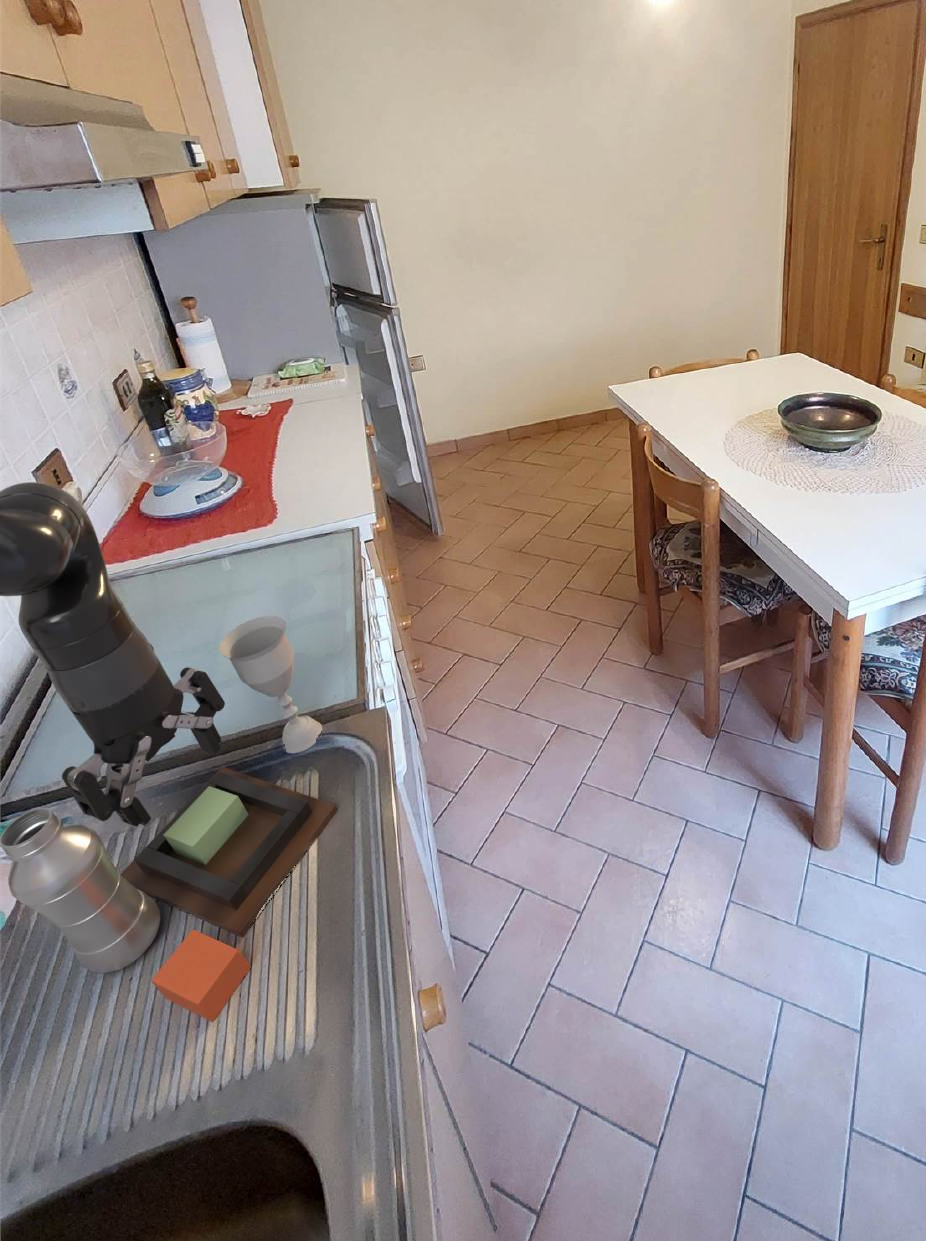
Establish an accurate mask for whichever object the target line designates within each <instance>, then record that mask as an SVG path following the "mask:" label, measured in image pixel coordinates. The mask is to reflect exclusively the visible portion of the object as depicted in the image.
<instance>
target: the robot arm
mask: <svg viewBox="0 0 926 1241" xmlns="http://www.w3.org/2000/svg"><path fill="white" fill-rule="evenodd" d="M101 548H102V547H101V545H100V541H99V539H98V536H97V533H96V530H95V526H94V524H93V523H92V520H91V518H90V516H89V515H88V512H87V511H86V510H85V508H84V507H83V505H82V504H81V503H80V502H79V501H78V500H77V499H76V498H75V497H74V496H73V495H71V494H70V493H69V492H68V491H65V490H64V489H62V488H60V487H58V486H56V485H52V484H49V483H46V482H37V481H28V482H21V483H15V484H12V485H10V486H7V487H5V488H3V489H1V490H0V597H20V606H19V612H18V618H17V619H18V625H19V628H20V631H21V633H22V635H23V636H24V639H25V640H26V641H27V643H28V644H29V646H30V648H31V649H32V650H33V652H34V654H35V655H36V656H37V657H38V659H39V660H40V662H41V663H42V665H43V666H44V668H45V669H46V671H47V673H48V677H49V679H50V681H51V683H52V686H53V688H54V689H55V690H56V692H57V693H58V694H59V696H60V698H61V699H62V700H63V702H64V704H65V705H66V706H67V707H68V709H69V711H70V712H71V714H72V715H73V716H74V717H75V719H76V720H77V722H78V723H79V725H80V726H81V728H82V729H83V731H85V734H86V735H87V737H88V738H89V739H90V740H91V742H92V743H93V754H92V755H91V756H90V757H89V758H87V759H86V760H85V761H84V762H82V763H81V764H80V765H78V767H77V766H74V765H71V766H69V767H67V768H65V769H64V770H63V772H62V774H61V779H62V780H63V782H64V784H65V786H66V787H67V789H68V790H69V792H70V794H71V795H72V797H73V798H74V800H75V802H76V803H77V805H78V806H79V808H80V811H81V812H82V814H83V815H86V816H91V817H92V818H96V819H97V820H98V821H101V822H106V821H108V820H109V819H110V818H111V817H112V815H113V814H114V812H116V814H117V815H118V817H119V818H120V820H121V821H122V822H123V823H126V824H128V825H131V826H133V827H136V828H137V827H138V826H139V825H141V826H144V827H145V826H147V824H148V823H150V821H151V820H152V817H151V815H150V814H149V812H148V811H147V809H146V808H145V807H144V804H142V802H141V800H139V798H138V797H137V796H135V793H136V789H137V784H138V782H139V781H141V780H142V778H143V774H144V769H145V765H146V762H150V761H151V759H153V758H155V756H156V755H157V753H158V752H159V751H160V750H161V748H162V747H164V746H165V745H168V744H169V743H170V742H171V741H172V740H173V739H174V738H175V737H176V733H177V731H178V729H185V730H186V729H187V730H190V732H191V733H192V734H193V736H194V738H195V740H196V742H197V743H198V745H199V747H200V748H201V749H202V750H203V751H204V752H206V753H209V754H213V755H216V754H217V753H218V752H219V751H220V750H221V746H220V744H221V742H222V737H221V735H220V733H219V732H218V729H217V728H216V726H215V724H214V722H215V721H214V720H215V719H214V717H215V715H216V714H217V712H221V711H223V709H224V708H225V705H226V701H225V700H224V698H223V696H222V695H221V694H220V692H219V690H218V689H217V688H216V686H215V685H214V683H213V681H212V680H211V678H210V677H209V675H208V674H207V672H206V671H203V670H199V669H196V668H192V667H189V666H186V667H184V668H182V670H181V671H180V673H179V677H180V679H179V680H178V681H177V682H176V683H174V684H173V682H172V681H171V679H170V677H169V675H168V674H167V672H166V670H165V669H164V666H163V665H162V662H161V661H160V660H159V658H158V656H157V655H156V653H155V649H154V646H153V645H152V643H150V642H149V640H148V639H147V637H146V635H144V634H143V632H142V631H141V630H140V628H139V627H138V626H137V625H136V624H135V622H134V621H133V619H132V617H131V615H130V613H129V611H127V609H126V607H125V605H124V603H123V601H122V600H121V598H120V597H119V595H118V593H117V592H116V591H115V589H114V588H113V585H112V583H111V580H110V577H109V574H108V568H107V565H106V564H107V563H106V561H105V557H104V555H103V554H104V553H103V551H102V549H101ZM185 693H188V694H191V696H193V698H194V699H195V701H196V702H197V704H198V705H199V706H198V708H197V709H196V711H186V710H185V711H184V710H182V709H183V704H184V699H185V698H184V697H185V696H184V694H185ZM105 764H106V769H105V773H104V774H105V778H106V779H107V781H106V786H105V791H104V790H103V788H102V787H101V786H100V784H99V783H100V782H101V781H102V779H103V777H102V773H101V769H102V767H103V765H105ZM125 765H128V768H127V767H126V766H125Z"/></svg>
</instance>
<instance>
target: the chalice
mask: <svg viewBox="0 0 926 1241" xmlns="http://www.w3.org/2000/svg"><path fill="white" fill-rule="evenodd" d="M286 628H287V625H286V621H285V619H283V618H282V617H279V616H277V615H265V616H264V615H263V616H259V617H256V618H253V619H250V620H247V621H245V622H243V623H241V624H239V625H237V626H235V627H234V628H233V629H232V630H230V631H229V632H228V633H227V634H226V635H225V636H224V637H223V638H222V640H221V642H220V644H219V653H220V654H221V656H223V657H224V658H227V659H229V661H230V662H231V664H232V666H233V668H234V670H235V672H236V673H237V675H238V678H239V680H241V682H242V683H243V684H244V685H246V686H248V687H249V688H250V689H252V690H254V691H256V692H258V693H261V694H262V695H265V696H267V697H270V698H276V697H277V699H278V702H277V705H278V707H282V708H283V711H282V714H281V715H282V717H284V718H287V719H288V720H289V721H288V722H287V723H286V724H285V725H284V728H283V730H282V736H281V739H282V741H283V744H285V748H286V753H288V754H297V753H302V752H304V751H306V750H308V749H309V748H311V747H312V746H314V745H315V744H316V743H317V742H316V738H317V737H318V735H319V734H320V733H321V731H322V732H323V725H322V724H321V723H320V722H319V721H317V720H315V719H314V718H312V717H311V716H309V715H297V711H298V706H296V705H292V701H293V697H292V696H289V695H288V694H287V693H286V692H288V690H289V689H290V688H291V686H292V680H293V677H294V676H293V675H294V672H295V652H294V650H293V648H292V646H291V643H290V641H289V639H288V637H287V635H286ZM282 741H281V742H282Z"/></svg>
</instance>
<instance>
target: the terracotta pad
mask: <svg viewBox="0 0 926 1241" xmlns="http://www.w3.org/2000/svg"><path fill="white" fill-rule="evenodd" d="M182 940H183V941H181V943H180V944H179V945H178V947H177V948H176V949H175V950H174V952H173V953H172V954H171V955H170V956H169V957H168V958H167V960H166V962H165V963H164V964H163V965H162V966H161V968H160V969H159V970H158V971H157V973H156V974H155V975H154V976H153V977H152V979H151V981H150V982H151V983H152V984H153V986H154V987H155V988H156V989H157V990H158V991H159V992H160V993H161V994H162V995H163V997H164V998H165V999H167V1001H170V1002H172V1003H174V1004H176V1005H178V1006H179V1007H182V1008H184V1009H185V1010H188V1011H190V1012H192V1013H194V1014H195V1015H198V1016H199V1017H200V1018H204V1019H205V1020H207V1021H209V1022H210V1023H211V1022H212V1023H213V1022H214V1021H215V1020H216V1018H217V1017H218V1016H219V1014H220V1013H221V1012H222V1010H223V1008H224V1007H225V1006H226V1004H227V1003H228V1001H229V1000H230V999H231V997H232V996H233V994H234V993H235V992H236V990H237V989H238V988H239V986H240V985H241V983H242V982H243V980H244V979H243V977H244V976H245V975H246V974H247V975H248V973H249V972H250V971H251V969H252V967H251V966H250V964H249V963H248V961H247V960H246V959H245V957H244V956H243V955H242V953H241V952H240V951H239V949H237V948H235V947H233V946H230V945H229V944H227V943H224V942H222V941H220V940H217V939H215V938H214V937H211V936H209V935H207V934H205V933H202V932H200V931H197V930H195V929H191V931H190V932H189V933H188V934H187V935H186V937H185V938H184V939H182ZM250 968H251V969H250ZM248 971H249V972H248ZM247 975H246V976H247ZM246 976H245V977H246ZM245 977H244V978H245ZM242 979H243V980H242ZM241 981H242V982H241ZM240 982H241V983H240ZM234 991H235V992H234Z"/></svg>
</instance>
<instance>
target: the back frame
mask: <svg viewBox="0 0 926 1241" xmlns="http://www.w3.org/2000/svg"><path fill="white" fill-rule="evenodd" d="M209 786H210V787H213V788H216V789H219V790H222V791H225V792H227V793H230V794H233V795H236V796H238V797H239V799H240V801H241V802H242V804H243V806H244V807H245V809H246V811H247V812H248V814H249V815H248V816H247V817H246V818H245V819H244V821H243V822H242V823H241V824H240V825H239V827H238V828H237V829H236V830H235V831H234V832H233V834H232V835H231V836H230V837H229V838H228V839H227V841H226V842H225V843H224V844H223V845H222V846H221V848H220V849H219V850H218V851H217V852H216V854H215V855H214V856H213V857H212V858H211V859H210V861H209V862H208V863H207V864H206V865H204V864H202V863H199V862H197V861H194V860H192V859H189V858H187V857H184V856H182V855H179V854H177V853H176V852H175V851H174V849H173V848H172V847H171V845H170V844H169V842H168V841H167V840H166V838H165V837H164V834H165V833H166V832H167V830H168V829H169V828H170V827H171V826H172V825H173V824H174V823H175V822H176V821H177V820H178V819H179V818H180V817H181V816H182V814H183V813H184V812H185V811H186V810H187V809H188V808H189V807H190V806H191V805H192V804H193V803H194V802H195V801H196V800H197V798H198V797H199V796H200V795H201V794H202V793H203V792H204V791H205V790H206V789H207V788H208V787H209ZM337 812H338V807H337V805H336V804H335V803H331V802H328V801H325V800H323V799H320V798H316V797H312V796H310V795H308V794H304V793H301V792H298V791H295V790H293V789H289V788H287V787H283V786H281V785H279V784H278V785H277V784H274V783H271V782H269V781H266V780H263V779H260V778H256V777H254V776H251V775H248V774H245V773H242V772H239V771H236V770H233V769H229V768H227V767H223V766H221V767H220V768H219V770H217V771H215V773H214V774H213V775H212V776H211V777H210V778H209V780H207V782H206V783H205V784H204V785H203V786H202V787H201V788H200V789H199V790H198V791H197V792H196V793H195V795H193V796H192V798H191V799H190V800H189V801H188V802H187V803H186V804H185V805H184V806H183V807H182V808H181V809H180V810H179V811H178V813H176V814H175V815H174V816H173V818H172V819H171V820H169V821H168V823H167V824H165V826H164V827H163V828H162V829H161V830H160V831H159V832H158V833H157V835H155V836H154V837H153V839H152V840H151V841H149V843H148V844H147V845H146V846H145V847H144V848H143V849H142V850H141V851H140V852H139V854H137V856H136V857H135V858H133V860H132V862H130V863H129V864H128V865H127V866H126V867H125V869H124V870H123V871H122V872H121V873H120V874H121V876H122V877H123V878H124V879H126V880H127V881H128V882H129V883H130V884H131V885H133V886H134V887H135V888H136V889H138V890H140V891H142V892H144V893H145V894H147V895H148V896H149V897H151V898H152V899H154V900H157V901H159V902H161V901H162V902H161V903H163V904H166V905H168V904H169V905H168V906H170V905H171V907H173V906H174V907H173V908H175V907H176V908H175V909H177V908H179V909H181V910H180V911H182V910H183V911H182V912H184V911H185V912H184V913H186V912H187V913H186V914H188V913H190V914H189V915H191V914H192V915H191V916H193V915H194V916H193V917H195V916H196V917H195V918H197V917H198V918H197V919H200V920H202V919H203V920H202V921H204V922H206V921H207V922H206V923H209V924H211V925H212V926H215V925H216V926H215V927H217V928H220V927H221V928H220V929H222V928H223V929H222V930H224V929H226V930H225V931H227V930H229V931H230V932H229V931H228V932H229V933H231V932H233V933H235V934H234V935H235V936H238V937H240V938H244V937H245V936H246V935H247V933H248V932H247V931H249V930H250V929H249V927H250V926H251V925H252V923H253V921H254V920H255V918H256V917H257V915H258V913H259V911H260V910H261V908H262V907H263V905H264V904H265V903H266V902H267V900H268V898H269V897H270V896H271V894H273V892H274V891H275V890H276V889H277V888H278V886H279V885H280V884H281V882H282V881H283V880H284V879H285V878H286V877H287V875H288V874H289V873H290V872H291V870H292V868H294V866H295V865H296V864H297V863H298V862H299V863H300V862H301V860H302V859H301V858H303V857H304V856H305V855H304V853H305V852H306V851H307V850H309V849H310V848H311V847H312V846H313V844H314V843H315V841H316V840H317V839H318V837H319V836H320V835H321V833H322V832H323V830H324V829H325V828H326V827H327V825H328V824H329V822H330V821H331V820H332V819H333V817H334V816H335V814H336V813H337ZM310 846H311V847H310ZM309 847H310V848H309ZM307 852H308V851H307ZM307 852H306V853H307ZM306 853H305V854H306ZM303 855H304V856H303ZM302 856H303V857H302ZM300 859H301V860H300ZM299 863H298V864H299ZM298 864H297V865H298ZM294 869H295V868H294ZM291 873H292V872H291ZM179 909H178V910H179ZM253 924H254V923H253ZM252 926H253V925H252ZM252 926H251V927H252ZM251 927H250V928H251ZM248 929H249V930H248ZM246 932H247V933H246ZM233 933H232V934H233ZM244 935H245V936H244ZM243 936H244V937H243Z"/></svg>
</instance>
